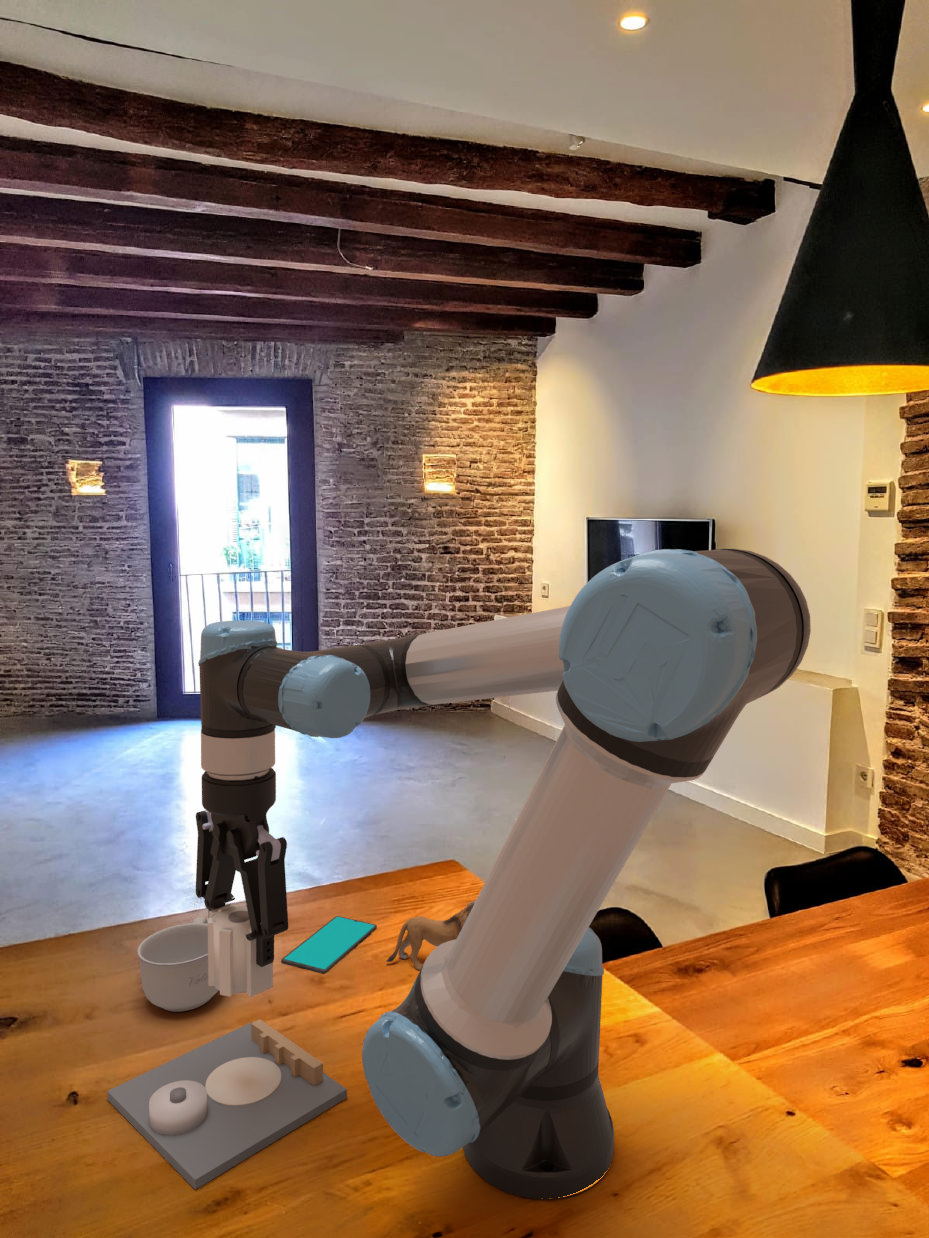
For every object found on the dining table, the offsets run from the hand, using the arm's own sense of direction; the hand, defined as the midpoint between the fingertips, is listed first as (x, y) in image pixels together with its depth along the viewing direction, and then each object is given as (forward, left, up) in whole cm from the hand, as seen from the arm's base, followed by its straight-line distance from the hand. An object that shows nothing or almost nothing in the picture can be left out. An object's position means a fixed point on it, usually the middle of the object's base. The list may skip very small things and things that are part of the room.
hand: (240, 976), depth 93 cm
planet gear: (0, 0, 0) cm, 0 cm away
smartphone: (+19, -27, -14) cm, 36 cm away
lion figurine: (+4, -35, -13) cm, 37 cm away
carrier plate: (0, +2, -13) cm, 13 cm away
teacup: (+22, -6, -13) cm, 26 cm away
